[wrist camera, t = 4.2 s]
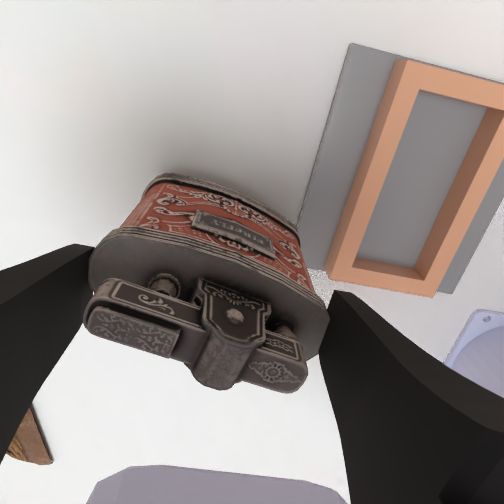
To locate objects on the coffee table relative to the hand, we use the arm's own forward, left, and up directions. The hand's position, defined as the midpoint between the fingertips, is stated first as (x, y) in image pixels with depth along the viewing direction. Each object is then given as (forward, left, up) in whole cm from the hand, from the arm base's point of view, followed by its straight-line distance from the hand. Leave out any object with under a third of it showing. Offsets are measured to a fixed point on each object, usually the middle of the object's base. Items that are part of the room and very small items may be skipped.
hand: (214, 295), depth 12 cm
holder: (-10, -3, -10) cm, 14 cm away
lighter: (0, 0, -7) cm, 7 cm away
